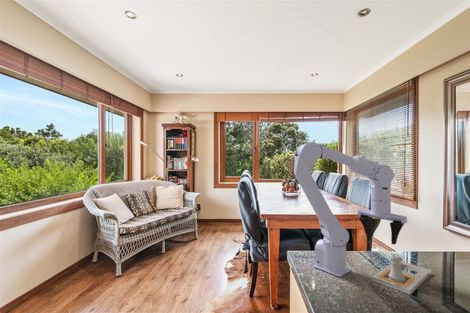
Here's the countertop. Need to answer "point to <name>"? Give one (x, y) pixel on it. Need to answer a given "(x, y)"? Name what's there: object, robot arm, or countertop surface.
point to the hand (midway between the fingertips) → (381, 240)
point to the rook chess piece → (396, 269)
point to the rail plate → (411, 279)
